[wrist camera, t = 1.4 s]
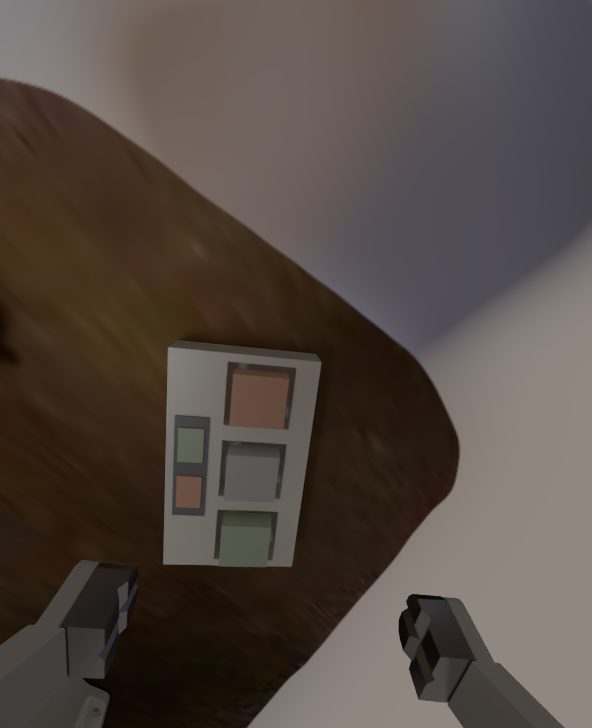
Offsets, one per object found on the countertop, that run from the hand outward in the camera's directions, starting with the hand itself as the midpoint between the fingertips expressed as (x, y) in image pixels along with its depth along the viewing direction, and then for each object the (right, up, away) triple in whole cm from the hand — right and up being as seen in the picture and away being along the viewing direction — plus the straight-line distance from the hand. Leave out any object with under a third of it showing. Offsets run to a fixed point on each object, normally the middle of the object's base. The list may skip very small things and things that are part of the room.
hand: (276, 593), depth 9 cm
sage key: (-5, -12, +25) cm, 28 cm away
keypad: (-6, -3, +26) cm, 26 cm away
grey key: (-4, -4, +23) cm, 24 cm away
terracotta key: (-3, +4, +21) cm, 22 cm away
